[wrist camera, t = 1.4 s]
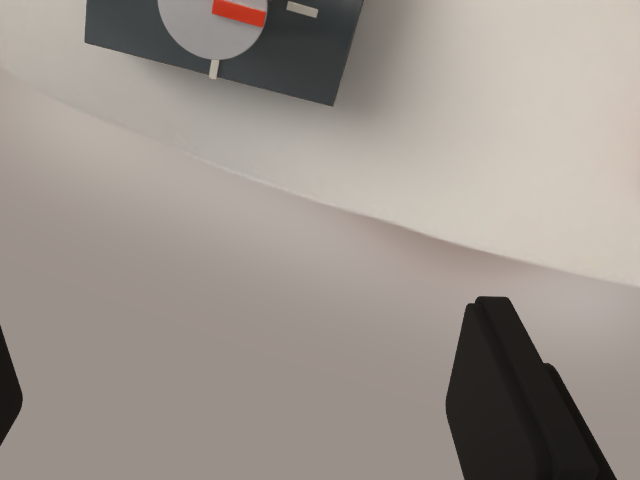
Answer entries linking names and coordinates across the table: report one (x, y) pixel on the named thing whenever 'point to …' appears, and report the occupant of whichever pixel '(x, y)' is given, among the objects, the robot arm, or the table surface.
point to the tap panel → (255, 63)
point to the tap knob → (215, 25)
